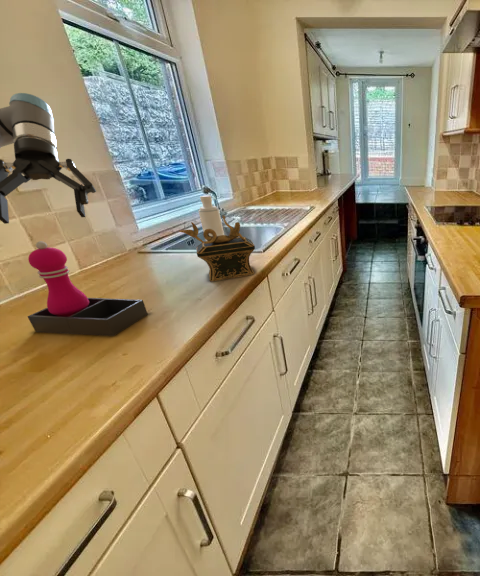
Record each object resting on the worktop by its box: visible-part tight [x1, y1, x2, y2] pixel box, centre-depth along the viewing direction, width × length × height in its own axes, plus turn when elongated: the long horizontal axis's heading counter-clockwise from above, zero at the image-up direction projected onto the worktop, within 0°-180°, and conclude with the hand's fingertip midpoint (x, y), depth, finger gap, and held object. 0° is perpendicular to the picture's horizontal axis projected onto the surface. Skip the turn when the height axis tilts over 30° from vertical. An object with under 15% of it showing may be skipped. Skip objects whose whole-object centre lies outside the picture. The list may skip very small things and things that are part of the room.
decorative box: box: [179, 213, 256, 282], centre depth 103 cm, size 20×10×20 cm, turn 119°
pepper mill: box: [27, 241, 89, 317], centre depth 74 cm, size 7×7×20 cm
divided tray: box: [26, 297, 149, 337], centre depth 77 cm, size 20×10×5 cm, turn 85°
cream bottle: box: [197, 194, 225, 241], centre depth 119 cm, size 7×7×25 cm
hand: (43, 217), depth 75 cm, fingers open, 13 cm apart
